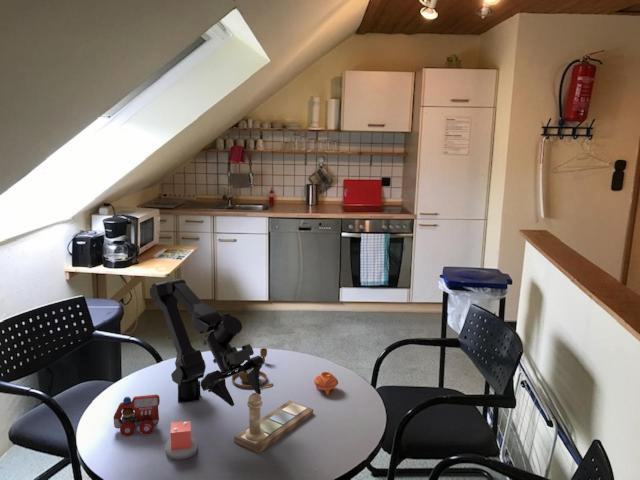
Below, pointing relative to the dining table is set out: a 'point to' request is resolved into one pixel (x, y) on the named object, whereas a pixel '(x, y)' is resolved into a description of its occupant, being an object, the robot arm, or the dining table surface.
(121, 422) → the toy fire truck
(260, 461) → the dining table surface
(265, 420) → the game board
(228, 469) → the dining table surface
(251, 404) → the pawn
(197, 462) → the dining table surface
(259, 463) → the dining table surface
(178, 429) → the orange cube on disc
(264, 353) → the place setting
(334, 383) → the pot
